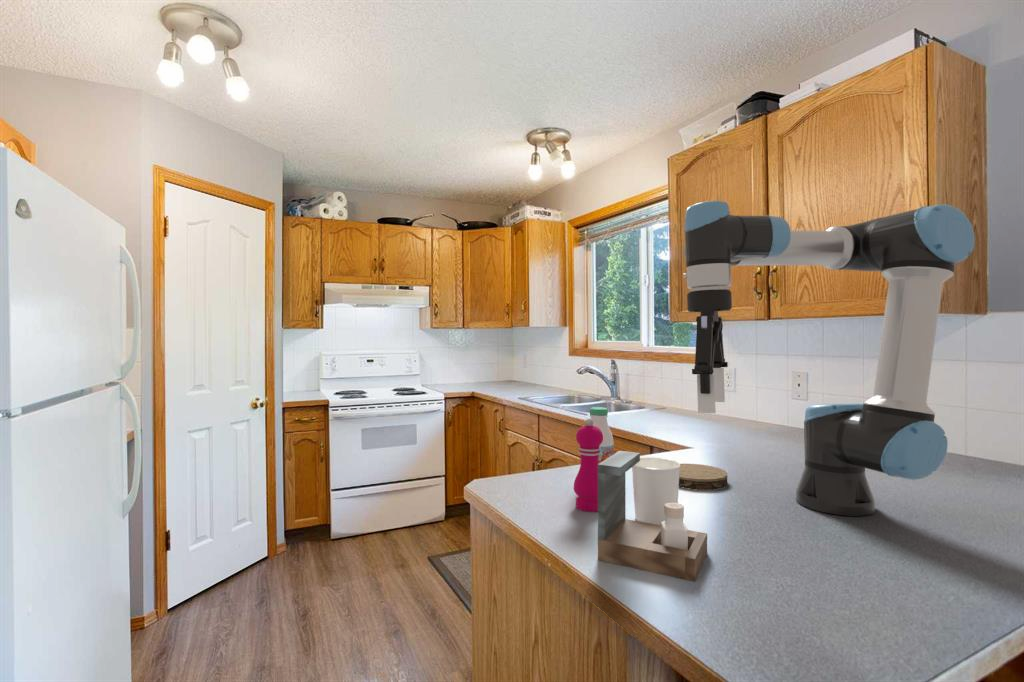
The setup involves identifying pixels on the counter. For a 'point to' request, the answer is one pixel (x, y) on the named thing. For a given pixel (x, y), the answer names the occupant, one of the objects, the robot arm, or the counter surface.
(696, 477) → the tan flat round disc
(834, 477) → the robot arm
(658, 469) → the candle holder
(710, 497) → the counter surface
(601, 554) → the socket stand
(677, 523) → the salt shaker
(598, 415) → the milk bottle
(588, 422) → the pepper mill
